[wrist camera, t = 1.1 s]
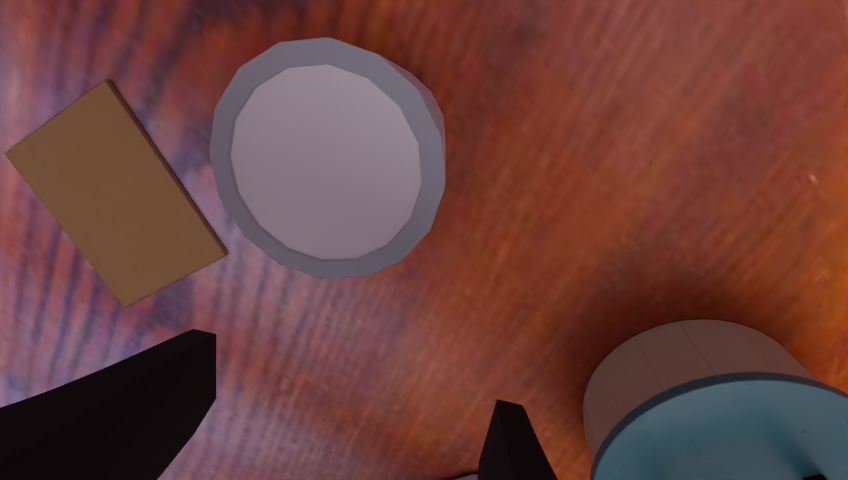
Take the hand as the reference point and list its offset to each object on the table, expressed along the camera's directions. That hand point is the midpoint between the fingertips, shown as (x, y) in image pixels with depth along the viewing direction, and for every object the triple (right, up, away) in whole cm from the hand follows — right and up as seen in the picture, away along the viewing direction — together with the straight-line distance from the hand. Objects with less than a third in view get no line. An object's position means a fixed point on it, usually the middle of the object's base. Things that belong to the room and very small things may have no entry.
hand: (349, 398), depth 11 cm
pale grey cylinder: (0, +8, +8) cm, 12 cm away
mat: (-13, +6, +11) cm, 18 cm away
